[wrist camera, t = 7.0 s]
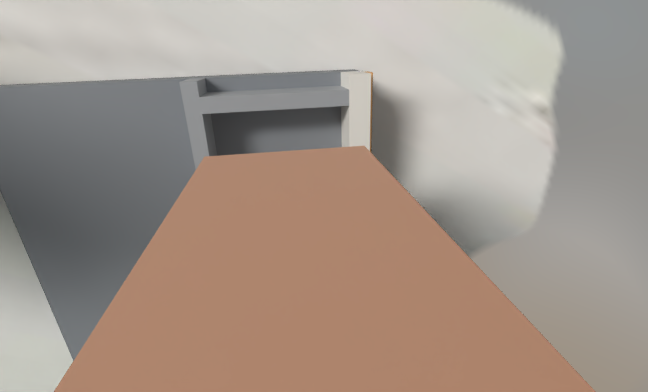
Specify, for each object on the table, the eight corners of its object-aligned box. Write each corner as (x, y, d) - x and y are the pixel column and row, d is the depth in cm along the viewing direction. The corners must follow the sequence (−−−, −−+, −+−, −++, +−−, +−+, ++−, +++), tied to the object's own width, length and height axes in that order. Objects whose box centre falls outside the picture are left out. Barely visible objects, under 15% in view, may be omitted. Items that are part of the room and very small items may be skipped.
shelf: (356, 367, 27) (368, 409, 24) (109, 403, 25) (86, 455, 22) (357, 69, 19) (375, 73, 15) (-18, 85, 16) (-87, 94, 13)
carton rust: (363, 334, 14) (521, 838, 5) (238, 350, 14) (169, 947, 5) (365, 145, 11) (785, 581, 2) (204, 156, 11) (-223, 825, 1)
